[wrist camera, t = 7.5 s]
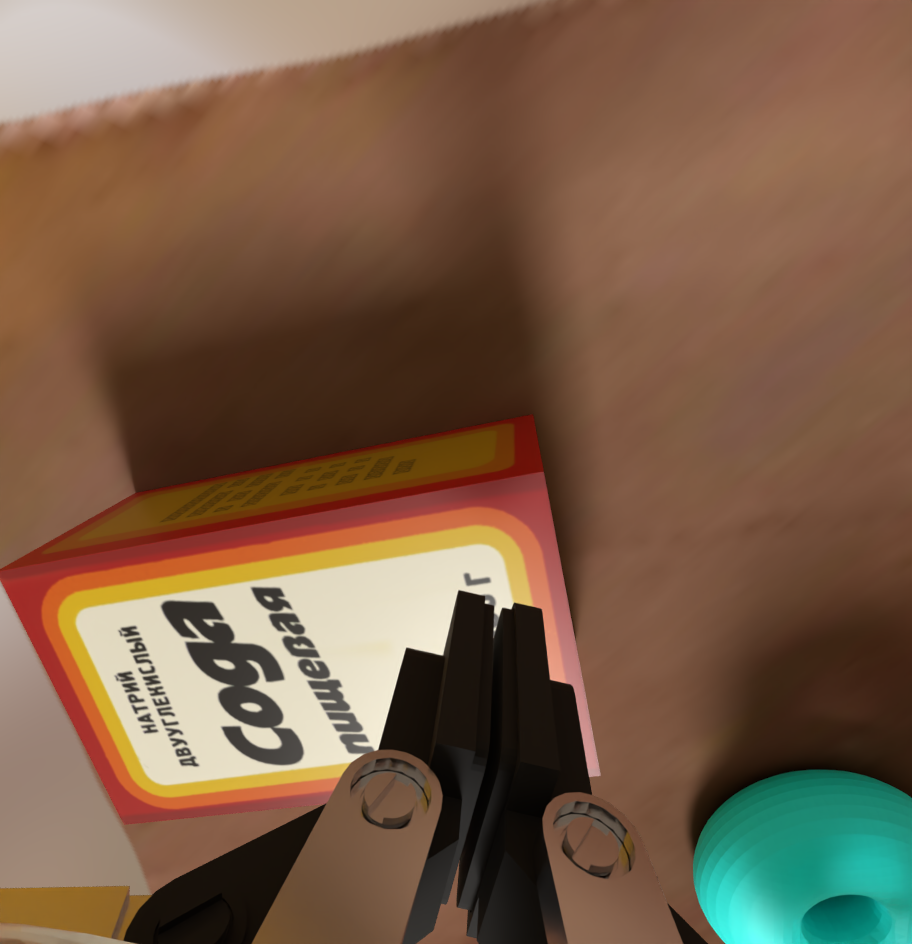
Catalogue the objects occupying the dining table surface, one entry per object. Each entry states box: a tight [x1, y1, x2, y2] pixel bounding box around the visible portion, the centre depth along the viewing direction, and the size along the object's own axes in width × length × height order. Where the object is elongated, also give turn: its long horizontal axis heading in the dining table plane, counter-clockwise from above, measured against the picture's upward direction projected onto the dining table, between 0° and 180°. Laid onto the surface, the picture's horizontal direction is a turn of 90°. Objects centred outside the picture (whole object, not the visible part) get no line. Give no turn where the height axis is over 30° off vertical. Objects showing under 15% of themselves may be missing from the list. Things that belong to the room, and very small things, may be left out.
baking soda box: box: [0, 414, 601, 825], centre depth 20 cm, size 10×6×16 cm
